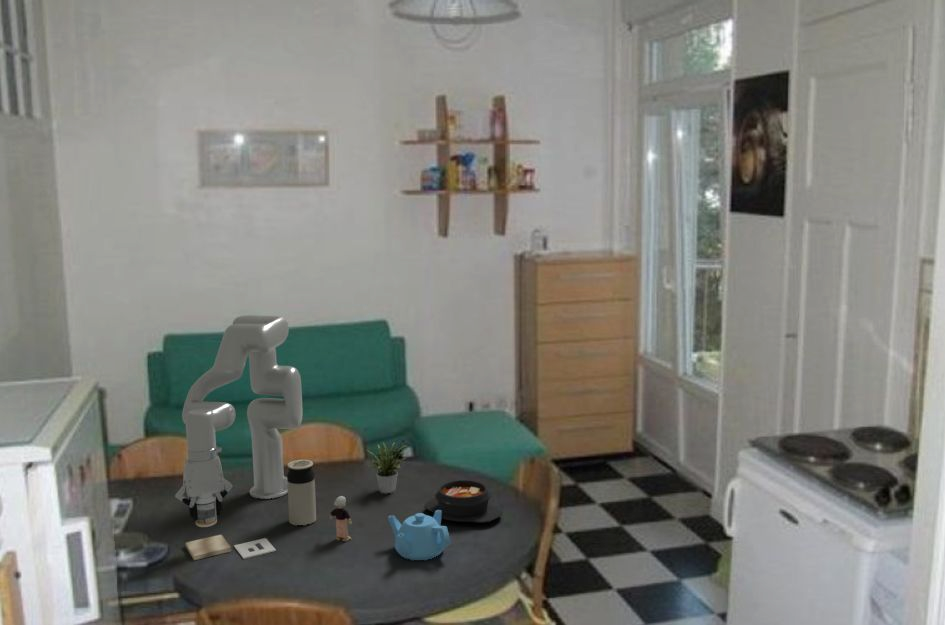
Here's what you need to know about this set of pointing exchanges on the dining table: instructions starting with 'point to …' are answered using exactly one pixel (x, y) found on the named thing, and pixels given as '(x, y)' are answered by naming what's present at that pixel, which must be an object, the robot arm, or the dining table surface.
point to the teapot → (420, 536)
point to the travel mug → (301, 492)
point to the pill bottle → (206, 509)
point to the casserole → (464, 502)
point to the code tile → (254, 548)
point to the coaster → (208, 547)
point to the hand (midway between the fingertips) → (205, 516)
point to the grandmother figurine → (341, 518)
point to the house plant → (387, 468)
